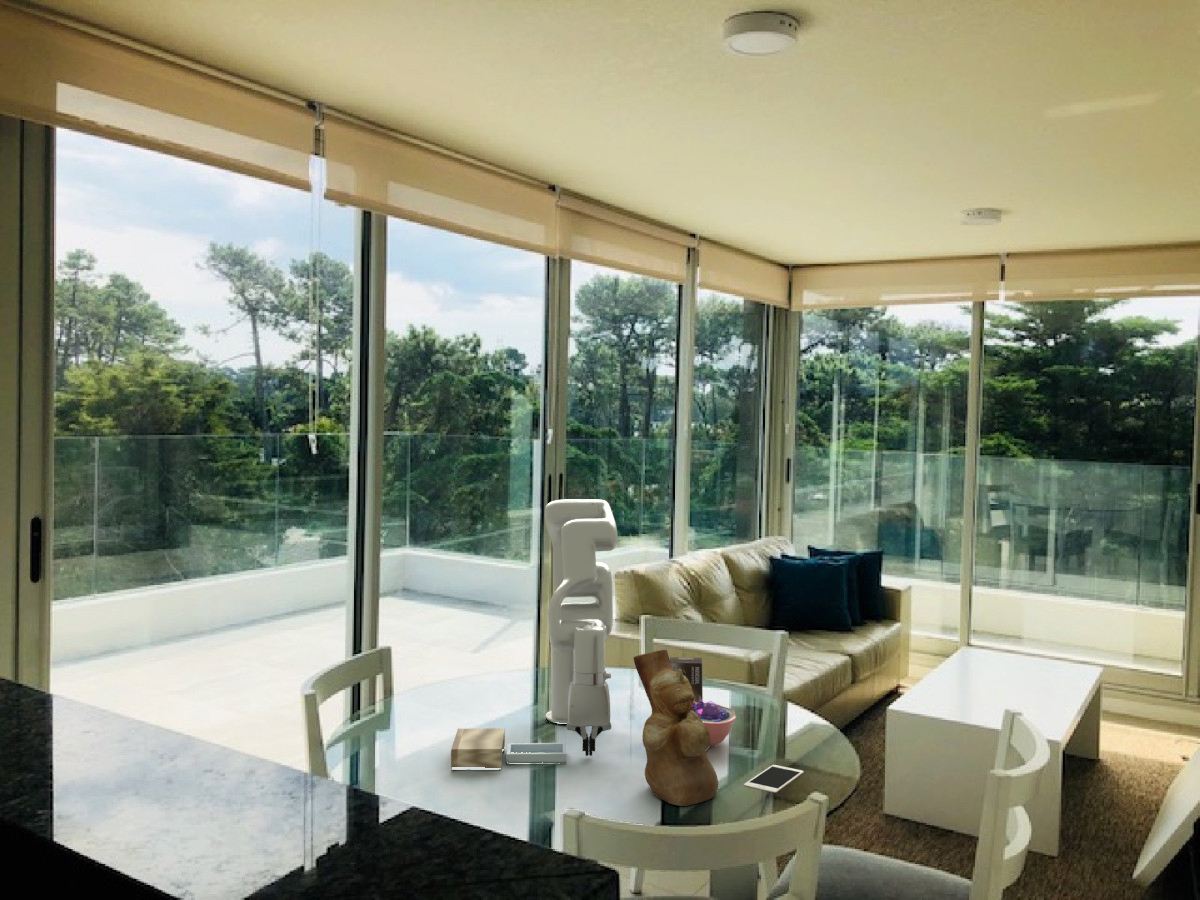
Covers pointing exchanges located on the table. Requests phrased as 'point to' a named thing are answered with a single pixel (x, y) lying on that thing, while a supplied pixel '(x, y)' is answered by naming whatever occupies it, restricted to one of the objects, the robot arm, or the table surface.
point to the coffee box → (690, 673)
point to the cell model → (715, 720)
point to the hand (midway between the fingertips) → (588, 753)
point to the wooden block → (478, 748)
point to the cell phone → (773, 778)
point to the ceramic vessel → (674, 735)
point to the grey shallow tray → (551, 755)
